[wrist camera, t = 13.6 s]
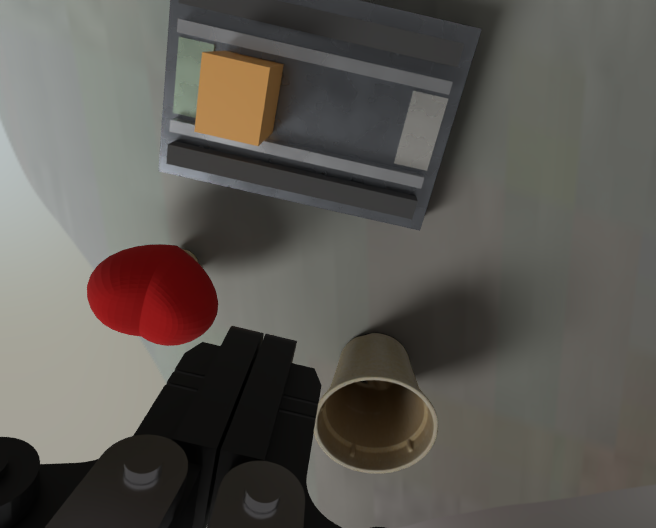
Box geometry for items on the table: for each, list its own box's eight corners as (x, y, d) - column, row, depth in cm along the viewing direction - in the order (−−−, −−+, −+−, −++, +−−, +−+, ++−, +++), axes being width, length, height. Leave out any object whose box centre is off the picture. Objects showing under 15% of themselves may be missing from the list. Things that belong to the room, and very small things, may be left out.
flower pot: (420, 406, 47) (430, 479, 40) (321, 399, 48) (311, 469, 40) (432, 320, 44) (445, 382, 36) (324, 313, 44) (313, 372, 36)
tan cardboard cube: (283, 64, 34) (270, 67, 29) (272, 132, 35) (258, 146, 31) (225, 50, 33) (202, 51, 29) (217, 120, 35) (194, 131, 31)
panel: (474, 29, 34) (485, 28, 31) (417, 219, 40) (421, 236, 37) (186, -38, 34) (166, -46, 31) (170, 163, 40) (152, 175, 36)
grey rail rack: (461, 43, 32) (464, 43, 31) (410, 213, 37) (412, 219, 36) (187, -20, 32) (180, -23, 31) (172, 159, 37) (166, 163, 36)
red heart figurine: (127, 277, 44) (64, 338, 35) (140, 205, 41) (74, 251, 32) (229, 309, 45) (192, 378, 36) (248, 240, 42) (214, 296, 33)
